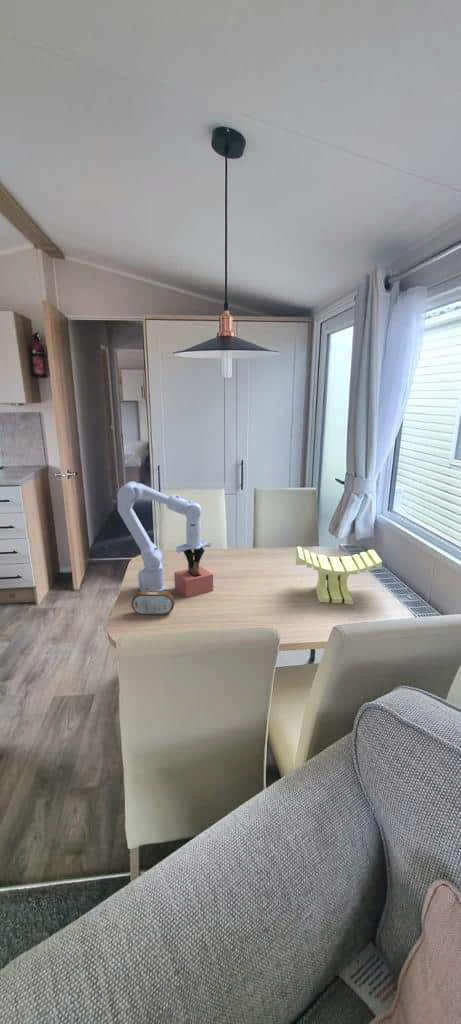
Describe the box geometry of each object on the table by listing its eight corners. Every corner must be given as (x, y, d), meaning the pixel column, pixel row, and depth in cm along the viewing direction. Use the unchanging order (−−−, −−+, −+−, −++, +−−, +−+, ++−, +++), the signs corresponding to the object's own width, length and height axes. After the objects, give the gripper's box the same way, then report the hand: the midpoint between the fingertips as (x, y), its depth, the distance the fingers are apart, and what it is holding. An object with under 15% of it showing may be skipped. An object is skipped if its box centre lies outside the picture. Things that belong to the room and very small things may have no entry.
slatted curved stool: (367, 588, 179) (371, 547, 174) (377, 605, 163) (382, 561, 159) (294, 584, 181) (296, 543, 176) (297, 601, 165) (299, 557, 161)
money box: (186, 597, 167) (186, 580, 165) (174, 588, 175) (174, 572, 173) (213, 590, 173) (213, 574, 172) (200, 582, 181) (200, 566, 180)
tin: (174, 611, 156) (174, 590, 154) (174, 615, 153) (173, 593, 151) (132, 611, 155) (131, 589, 153) (131, 615, 152) (130, 593, 150)
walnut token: (194, 575, 170) (194, 563, 169) (188, 571, 174) (188, 559, 173) (198, 574, 171) (198, 562, 170) (192, 570, 175) (192, 558, 174)
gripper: (181, 539, 161) (182, 573, 164) (214, 533, 169) (214, 566, 172) (173, 534, 167) (173, 567, 170) (205, 529, 175) (205, 560, 178)
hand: (193, 566), depth 172 cm, fingers closed on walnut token, 2 cm apart
